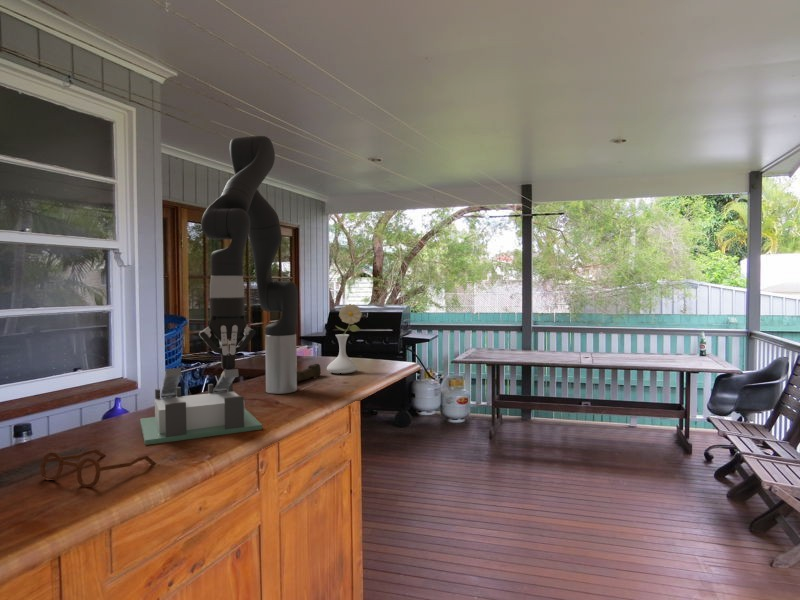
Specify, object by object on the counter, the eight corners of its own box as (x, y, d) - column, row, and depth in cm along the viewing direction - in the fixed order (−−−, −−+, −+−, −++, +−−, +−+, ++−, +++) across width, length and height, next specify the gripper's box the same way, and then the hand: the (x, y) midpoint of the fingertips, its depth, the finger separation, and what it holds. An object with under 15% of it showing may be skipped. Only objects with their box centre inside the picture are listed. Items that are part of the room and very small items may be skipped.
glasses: (38, 481, 92) (37, 452, 91) (104, 457, 104) (103, 432, 104) (96, 491, 87) (95, 461, 87) (157, 465, 99) (157, 438, 99)
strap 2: (214, 395, 133) (213, 387, 134) (226, 394, 134) (225, 386, 135) (225, 376, 120) (224, 368, 120) (238, 375, 121) (237, 367, 122)
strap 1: (161, 401, 127) (160, 393, 128) (175, 399, 129) (174, 391, 129) (166, 376, 114) (165, 367, 115) (181, 374, 116) (180, 366, 117)
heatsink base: (140, 422, 127) (139, 389, 127) (243, 410, 139) (242, 379, 138) (145, 445, 110) (144, 406, 110) (262, 429, 122) (261, 394, 121)
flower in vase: (322, 375, 190) (322, 304, 189) (332, 369, 201) (331, 303, 200) (358, 376, 188) (358, 304, 187) (366, 370, 199) (365, 303, 198)
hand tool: (293, 386, 171) (293, 371, 171) (283, 385, 173) (283, 370, 173) (326, 376, 188) (326, 363, 188) (317, 375, 190) (317, 362, 190)
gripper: (252, 295, 130) (253, 366, 130) (194, 295, 123) (195, 371, 124) (260, 295, 123) (260, 371, 124) (199, 296, 117) (200, 375, 117)
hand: (228, 370), depth 124 cm, fingers closed
